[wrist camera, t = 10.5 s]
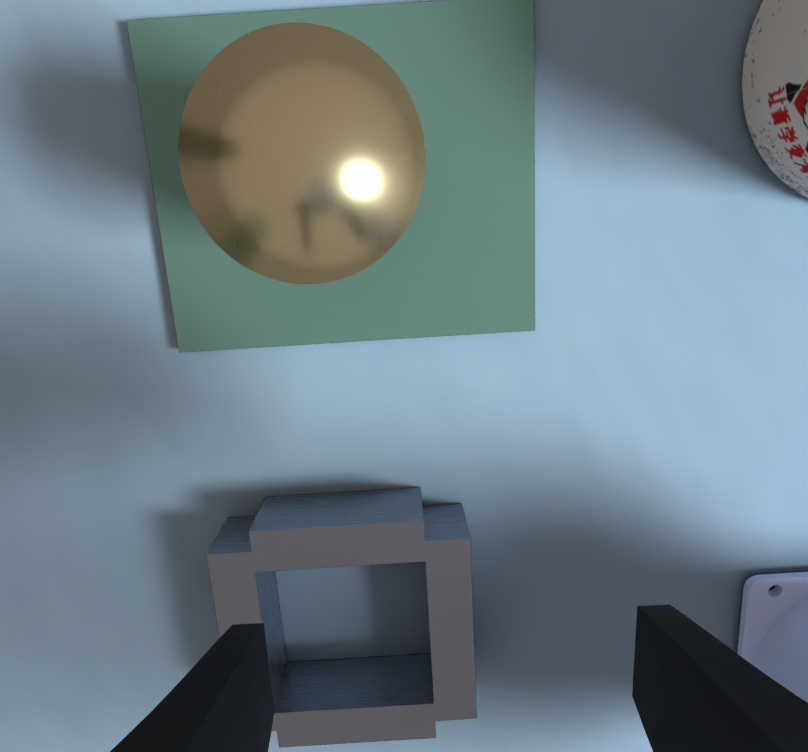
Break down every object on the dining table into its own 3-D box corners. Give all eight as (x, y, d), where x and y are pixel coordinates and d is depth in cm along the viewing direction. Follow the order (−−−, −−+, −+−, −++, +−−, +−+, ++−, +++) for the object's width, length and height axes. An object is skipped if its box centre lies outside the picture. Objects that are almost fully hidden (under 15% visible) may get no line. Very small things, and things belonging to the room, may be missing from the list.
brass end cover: (412, 105, 18) (420, 16, 10) (417, 255, 19) (428, 279, 11) (264, 112, 18) (161, 27, 10) (279, 261, 19) (195, 289, 11)
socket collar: (461, 484, 21) (469, 517, 19) (468, 683, 24) (477, 735, 21) (224, 499, 21) (202, 533, 19) (253, 696, 24) (237, 749, 21)
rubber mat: (530, -1, 18) (533, -6, 17) (532, 328, 20) (535, 330, 20) (132, 24, 18) (126, 20, 17) (183, 350, 20) (178, 352, 20)
